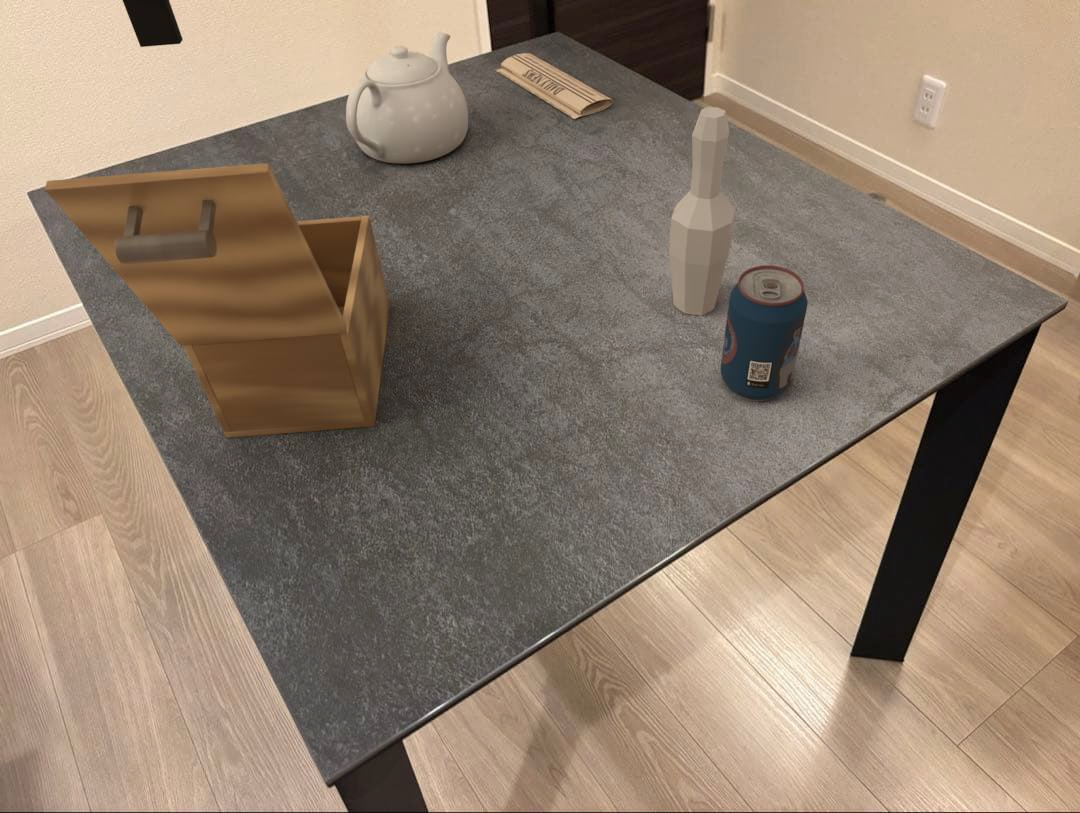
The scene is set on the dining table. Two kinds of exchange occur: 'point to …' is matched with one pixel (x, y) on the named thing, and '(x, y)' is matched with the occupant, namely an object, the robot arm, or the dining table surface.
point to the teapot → (408, 106)
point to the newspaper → (553, 85)
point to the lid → (206, 251)
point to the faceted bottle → (702, 221)
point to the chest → (309, 350)
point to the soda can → (763, 332)
